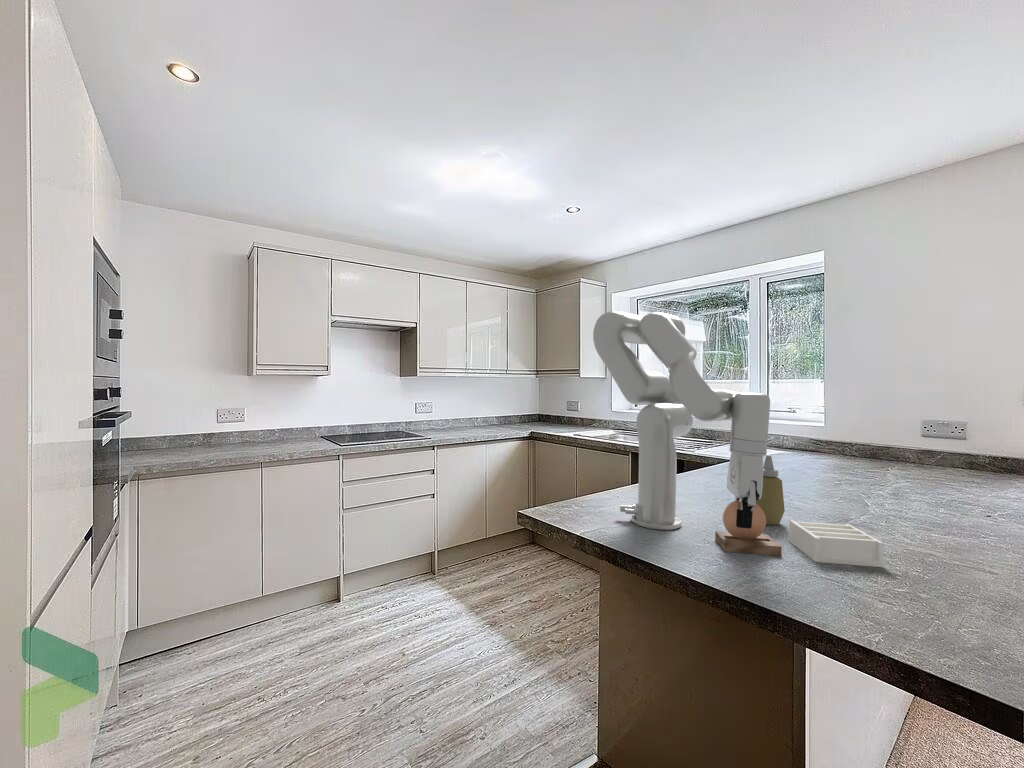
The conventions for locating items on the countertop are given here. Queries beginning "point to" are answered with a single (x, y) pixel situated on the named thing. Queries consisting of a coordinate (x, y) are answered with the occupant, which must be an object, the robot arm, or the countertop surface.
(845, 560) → the rack
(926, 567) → the countertop surface
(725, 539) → the stand
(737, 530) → the peach round disc
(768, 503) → the squeeze bottle
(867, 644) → the countertop surface
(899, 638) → the countertop surface
